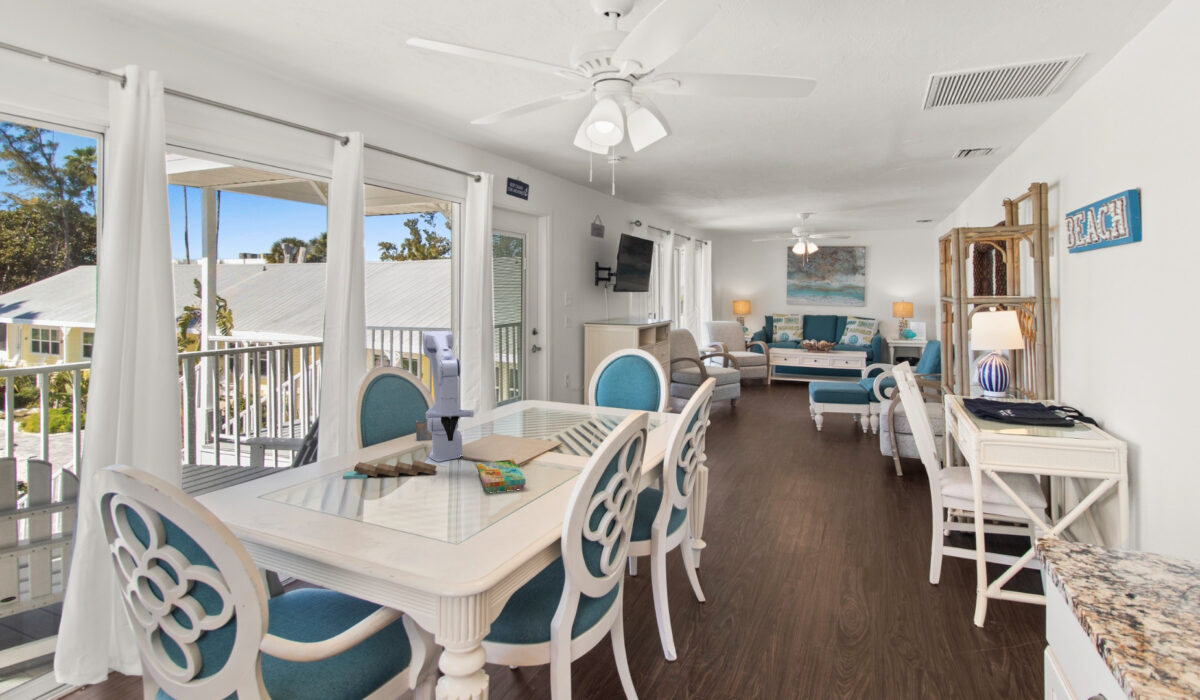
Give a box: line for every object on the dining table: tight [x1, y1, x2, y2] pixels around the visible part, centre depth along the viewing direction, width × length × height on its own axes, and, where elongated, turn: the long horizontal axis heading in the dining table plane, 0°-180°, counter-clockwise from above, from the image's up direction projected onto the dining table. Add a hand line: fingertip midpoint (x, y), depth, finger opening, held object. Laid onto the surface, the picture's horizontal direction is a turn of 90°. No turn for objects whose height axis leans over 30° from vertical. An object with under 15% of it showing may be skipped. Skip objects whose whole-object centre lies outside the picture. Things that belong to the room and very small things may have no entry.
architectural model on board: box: [415, 419, 432, 442], centre depth 225 cm, size 11×3×10 cm, turn 100°
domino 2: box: [353, 461, 381, 478], centre depth 182 cm, size 2×4×7 cm
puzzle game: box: [475, 458, 526, 494], centre depth 176 cm, size 12×5×20 cm
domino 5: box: [411, 459, 437, 475], centre depth 184 cm, size 2×4×7 cm
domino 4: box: [394, 461, 420, 477], centre depth 183 cm, size 2×4×7 cm
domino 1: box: [342, 470, 370, 480], centre depth 181 cm, size 2×4×7 cm
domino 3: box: [375, 462, 401, 478], centre depth 182 cm, size 2×4×7 cm
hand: (450, 440), depth 184 cm, fingers closed
